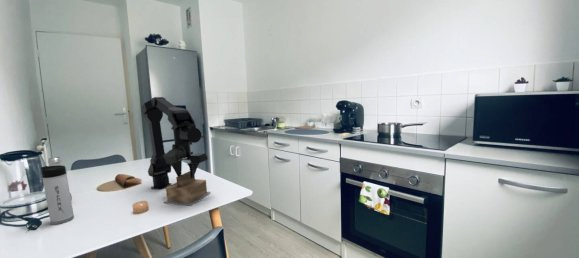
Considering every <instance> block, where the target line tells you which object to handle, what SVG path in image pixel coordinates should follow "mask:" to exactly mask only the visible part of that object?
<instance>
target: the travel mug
mask: <svg viewBox="0 0 579 258" xmlns="http://www.w3.org/2000/svg"><path fill="white" fill-rule="evenodd" d="M65 167H66V166H65V165H64V166H61V165H56V166H49V165H45V166H41V167H40V171H41V175H42V177H41V178H42V181H43V182H42V183H43V189H44V193H45V199H46V204H47V209H48V216H49V221H50V224H51V225H54V224H55V225H61V224H64V222H65V223H67V221H68V222H69V221H71V220H73V219H74V218H75V215H74V210H73V209H74V208H73V203H72V202H73V201H71V196H72V195H71V196H70V193H71V192H70V186H69V179H68V172H67V173H66V169H67V167H66V168H65ZM60 223H61V224H60Z"/></svg>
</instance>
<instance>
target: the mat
mask: <svg viewBox="0 0 579 258" xmlns="http://www.w3.org/2000/svg"><path fill="white" fill-rule="evenodd" d="M210 194H211V191H207V193H206V194H204V195H203V196H201V197H200V198H198V199H197V200H195V201H194V202H192V203H180V202H168V201H167V200H165V201H163V204H169V205H178V206H179V205H180V206H190V207H191V206H193V205H194V204H196V203H197V202H199V201H201V200H203V199H204V198H205V197H207V196H208V195H210Z"/></svg>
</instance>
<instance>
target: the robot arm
mask: <svg viewBox="0 0 579 258" xmlns="http://www.w3.org/2000/svg"><path fill="white" fill-rule="evenodd" d="M140 111H141V115H143V119H144V120H145V121H146V122H147V123H148V128H149V135H150V136H149V137H150V142H151V148H152V156H151V157H150V159H149V162H150V165H149V167H148V170H147V173H148V176H149V177H151V178H152V183H153V185H152V186H151V187H150V189H158V190H162V189H166V187H168V186H170V185H172V183H171V182H170V178H169V174H168V173H171V172H172V169H173V170H174V172H175V174H176V177H178V176H180V175H182V168H183V167H182V165H183V164H182V163H183V162H182V161H189V163H188V162H187V163H186V164H187V166H188V167H189V171H190V176H191V179H192V178H194V175H196V172H197V169H198V167H199V165H200V164H201V163H203V162H205V161H207V160H208V154H207V153H206V152H205V153H204V152H198V153H195V154H194V151H192V149H191V145H193V144H195V143H196V144H197V143H198V142H200V141H201V139H202V132H201V130H200V129H199V128H197V126H196V122H195V119H194V118H193V116H192V115H191V113H190V111H189V110H188V109H186V108H182V107H177V106H176V105H174V104H173V103H171V102H170V101H168V100H167V99H166V97H164V96H155V97H152V98H150V100H147V101H146V102H144V103H143V105H142V106H141V108H140ZM164 114H165V115H166V116H167V120H168V122H169V123H170V124H171V128H170V129H171V131H173V141H174V143H173V144H172V145H171V149H170V150H168V151H167V152H165V148H164V147H165V146H164V140H163V139H164V138H163V133H162V132H163V131H162V127H161V121H162V118H163V116H164Z"/></svg>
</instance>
